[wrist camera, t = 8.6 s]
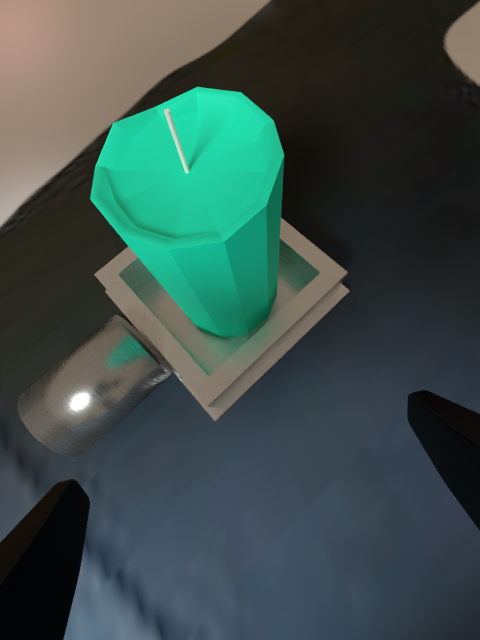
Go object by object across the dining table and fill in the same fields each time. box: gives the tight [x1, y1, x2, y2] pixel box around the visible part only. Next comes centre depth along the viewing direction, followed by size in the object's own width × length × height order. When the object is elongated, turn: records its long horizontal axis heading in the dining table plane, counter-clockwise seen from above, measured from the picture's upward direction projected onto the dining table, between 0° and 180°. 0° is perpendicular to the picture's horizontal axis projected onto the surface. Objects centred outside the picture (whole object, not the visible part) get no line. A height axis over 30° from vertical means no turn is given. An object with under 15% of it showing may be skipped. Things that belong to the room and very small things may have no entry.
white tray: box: [17, 218, 350, 457], centre depth 17 cm, size 11×17×4 cm, turn 133°
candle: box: [90, 87, 284, 339], centre depth 13 cm, size 6×6×12 cm
